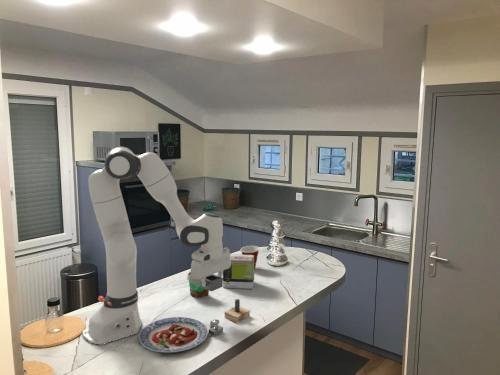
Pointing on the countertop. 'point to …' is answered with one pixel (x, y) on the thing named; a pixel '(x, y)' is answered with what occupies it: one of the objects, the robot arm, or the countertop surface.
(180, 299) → the countertop surface
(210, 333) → the silver knob on block
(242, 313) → the keeper
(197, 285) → the food container
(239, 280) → the tea box
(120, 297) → the robot arm
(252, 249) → the plastic cup
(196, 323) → the ceramic plate
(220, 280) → the grey square ring
